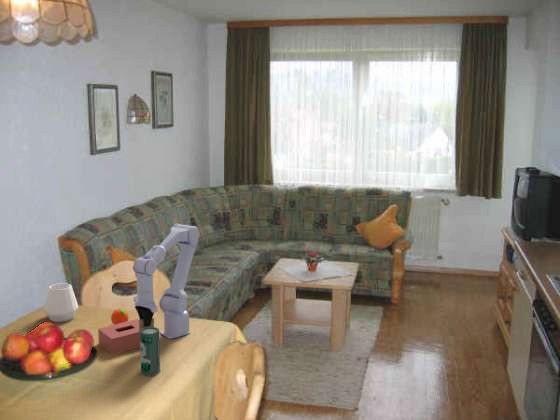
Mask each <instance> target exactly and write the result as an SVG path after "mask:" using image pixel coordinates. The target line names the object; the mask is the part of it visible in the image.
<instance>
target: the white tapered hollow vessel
mask: <svg viewBox="0 0 560 420" xmlns="http://www.w3.org/2000/svg"><path fill="white" fill-rule="evenodd" d="M43 308H44V310H43V311H44V313H45V315H46V316H47V317H48V318H49V320H50V321H52V322H56V323H62V322H66V321H70V320H72V319H74V317H75V315H76V313H77V312H78V309H79V303H78V301H77V298H76V296H75V292H74V289H73V285H71V283H67V282H61V283H60V282H59V283H53V284H51V285H50V286H49V287H48V290H47V294H46V299H45V303H44V307H43Z"/></svg>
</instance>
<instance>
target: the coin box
mask: <svg viewBox="0 0 560 420" xmlns="http://www.w3.org/2000/svg"><path fill="white" fill-rule="evenodd" d="M139 320H140V319H138V318H137V319H133V320H128V321H127V322H123V323H119V324H115V325H114V324H112V325H111V324H110V325H107V326H103V327H99V328H98V330H97V333H98V344H99V345H100V346H101V347H102V348H103V349H105V350H106V351H107V352H109V354H111V355H115V354H119V353H123V352H126V351H130V350H133V349H137V348H140V333H139Z"/></svg>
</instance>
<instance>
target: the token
mask: <svg viewBox="0 0 560 420" xmlns="http://www.w3.org/2000/svg"><path fill="white" fill-rule="evenodd" d="M138 320H139V333H140V331H141V329H143V328H145V326H144V321H143V319H140V318H139V319H138ZM148 327H155V318H154V317H152V321H151V325H150V326H148Z"/></svg>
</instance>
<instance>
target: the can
mask: <svg viewBox="0 0 560 420" xmlns="http://www.w3.org/2000/svg"><path fill="white" fill-rule="evenodd" d="M160 342H161V340H160V329H159V327H158V328H157V326H154V327H145V328H143V329H141V331H140V347H139V350H140V373H141V374H142V375H143V376H146V377H148V376H149V377H152V376H156V375H158V374H159V373H160V372H161V358H160V357H161V356H160V355H161V353H160V352H161V350H160V349H161V348H160V347H161V345H160V344H161V343H160Z"/></svg>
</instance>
